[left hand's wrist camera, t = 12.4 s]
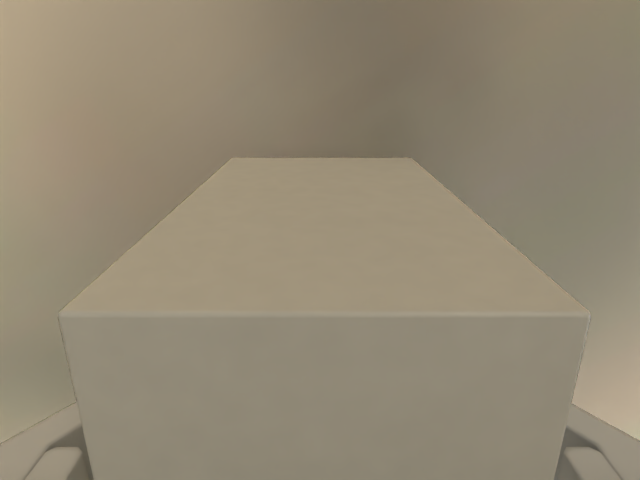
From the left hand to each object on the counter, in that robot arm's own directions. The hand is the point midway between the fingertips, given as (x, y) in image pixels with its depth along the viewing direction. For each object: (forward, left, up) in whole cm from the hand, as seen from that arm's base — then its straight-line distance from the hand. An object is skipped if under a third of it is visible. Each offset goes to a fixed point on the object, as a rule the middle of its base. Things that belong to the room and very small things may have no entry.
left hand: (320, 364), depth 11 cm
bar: (+7, -1, -3) cm, 8 cm away
